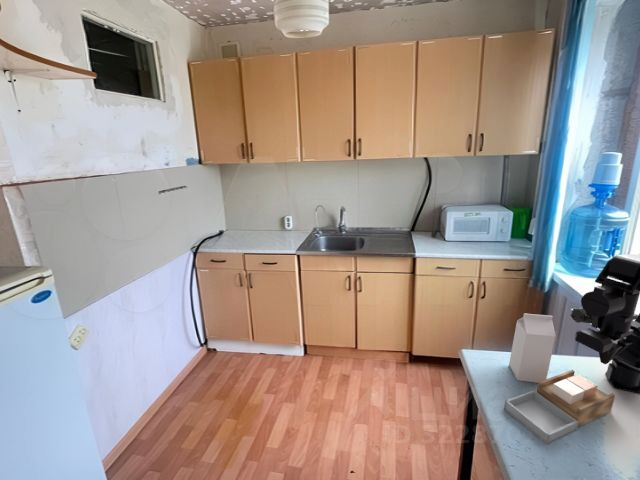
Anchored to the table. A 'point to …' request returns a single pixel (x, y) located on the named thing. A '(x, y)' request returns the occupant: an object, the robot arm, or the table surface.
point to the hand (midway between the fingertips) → (603, 363)
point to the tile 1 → (568, 391)
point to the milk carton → (532, 347)
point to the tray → (541, 416)
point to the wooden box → (580, 409)
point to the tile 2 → (584, 385)
